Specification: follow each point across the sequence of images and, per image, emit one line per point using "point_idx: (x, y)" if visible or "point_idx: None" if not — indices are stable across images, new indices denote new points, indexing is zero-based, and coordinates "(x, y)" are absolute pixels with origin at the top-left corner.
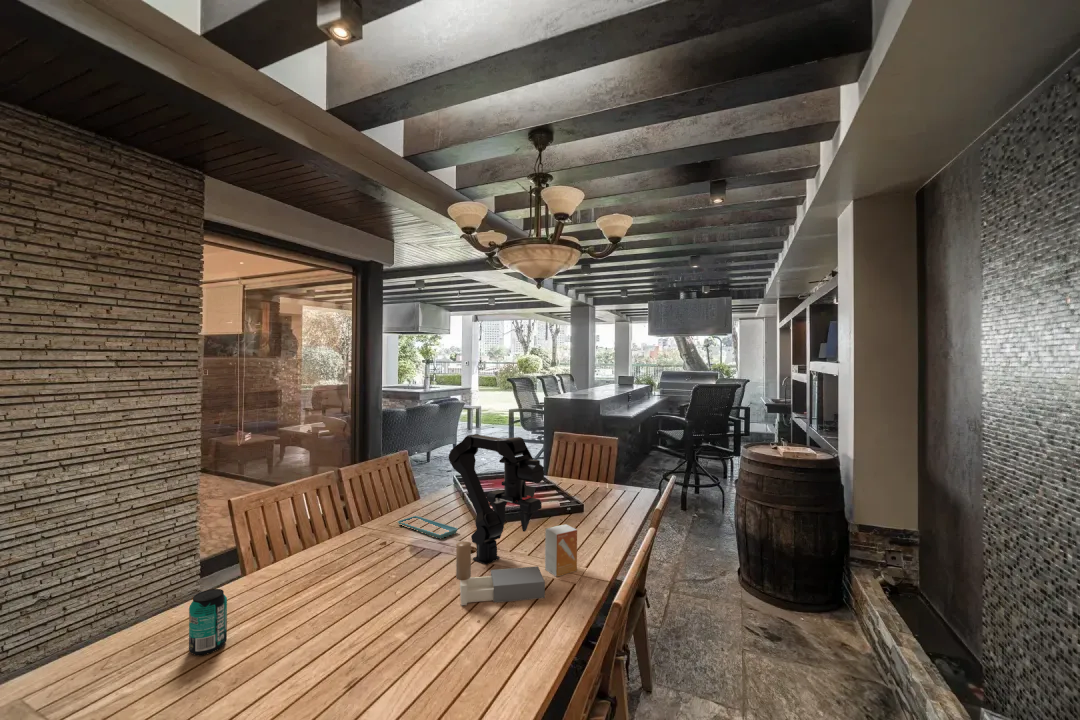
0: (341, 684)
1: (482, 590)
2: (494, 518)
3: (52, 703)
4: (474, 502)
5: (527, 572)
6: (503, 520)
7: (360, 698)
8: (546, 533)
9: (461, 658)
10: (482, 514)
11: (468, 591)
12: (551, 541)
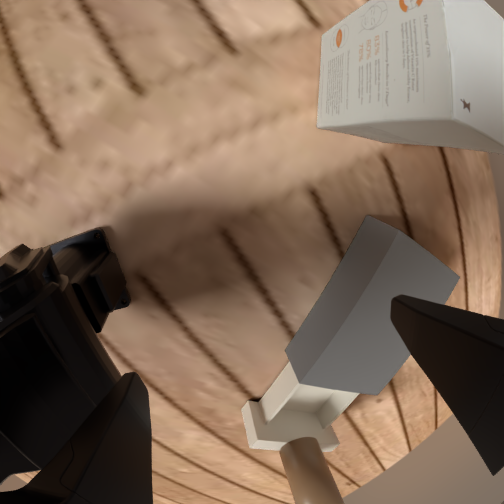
0: (344, 487)
1: (347, 405)
2: (42, 407)
3: None
4: None
5: (402, 292)
6: (136, 408)
7: (371, 475)
8: (439, 124)
9: (411, 421)
10: (34, 469)
11: (327, 426)
12: (452, 139)
